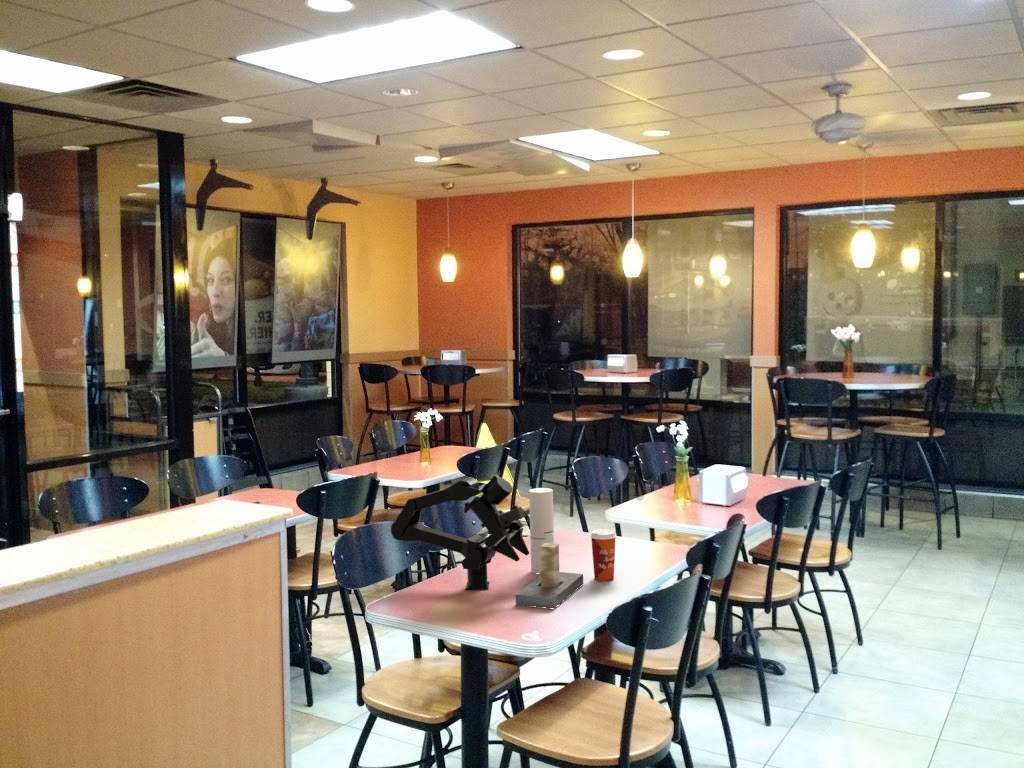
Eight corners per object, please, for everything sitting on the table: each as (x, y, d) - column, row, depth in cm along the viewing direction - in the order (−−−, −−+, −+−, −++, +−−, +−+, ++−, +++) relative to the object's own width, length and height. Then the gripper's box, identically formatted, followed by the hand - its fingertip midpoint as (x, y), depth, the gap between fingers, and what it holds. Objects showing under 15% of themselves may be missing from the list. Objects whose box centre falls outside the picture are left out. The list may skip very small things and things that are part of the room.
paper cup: (604, 584, 264) (603, 536, 263) (585, 578, 270) (584, 531, 269) (623, 578, 269) (622, 531, 268) (604, 573, 275) (603, 527, 274)
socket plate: (515, 605, 247) (515, 594, 247) (547, 580, 269) (547, 570, 269) (554, 609, 243) (553, 598, 242) (583, 584, 265) (583, 574, 264)
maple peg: (541, 595, 255) (540, 546, 254) (546, 591, 258) (545, 543, 257) (554, 597, 253) (553, 547, 252) (559, 593, 257) (558, 544, 256)
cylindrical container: (558, 572, 277) (556, 491, 275) (536, 575, 275) (534, 493, 273) (548, 566, 284) (547, 487, 282) (527, 569, 281) (525, 489, 279)
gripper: (497, 500, 251) (534, 544, 248) (518, 492, 269) (552, 534, 265) (469, 526, 253) (505, 570, 250) (491, 517, 271) (525, 558, 268)
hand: (523, 557), depth 258 cm, fingers open, 9 cm apart
